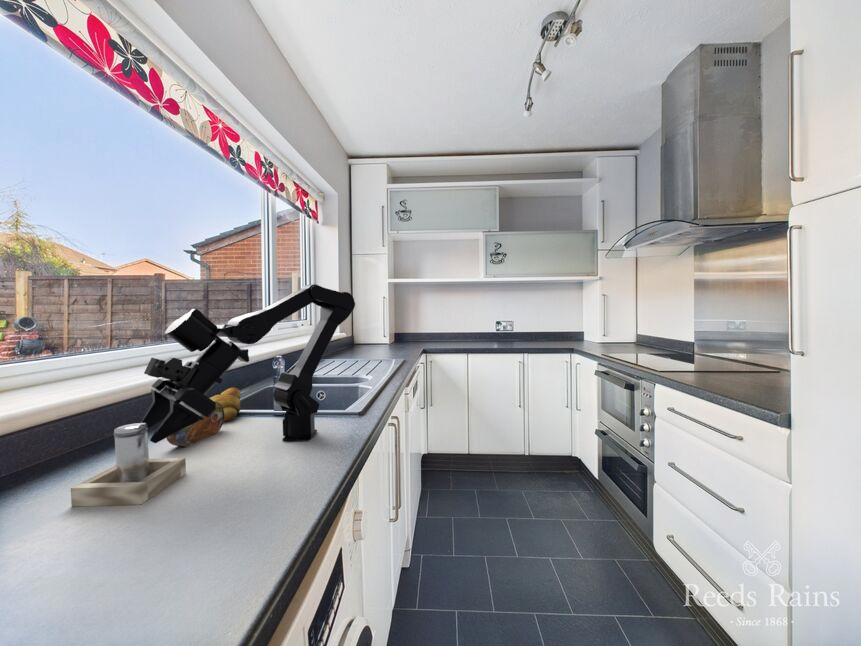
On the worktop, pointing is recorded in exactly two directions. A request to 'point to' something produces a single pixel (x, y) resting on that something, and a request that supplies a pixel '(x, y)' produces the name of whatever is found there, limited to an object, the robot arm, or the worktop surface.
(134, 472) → the silver metal canister
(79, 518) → the worktop surface
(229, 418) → the bread roll
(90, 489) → the collar
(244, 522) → the worktop surface
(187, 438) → the tin
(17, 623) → the worktop surface
